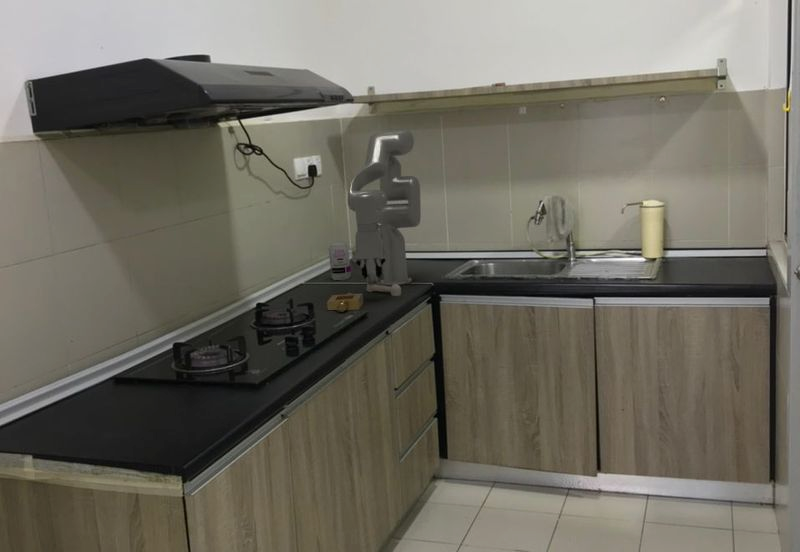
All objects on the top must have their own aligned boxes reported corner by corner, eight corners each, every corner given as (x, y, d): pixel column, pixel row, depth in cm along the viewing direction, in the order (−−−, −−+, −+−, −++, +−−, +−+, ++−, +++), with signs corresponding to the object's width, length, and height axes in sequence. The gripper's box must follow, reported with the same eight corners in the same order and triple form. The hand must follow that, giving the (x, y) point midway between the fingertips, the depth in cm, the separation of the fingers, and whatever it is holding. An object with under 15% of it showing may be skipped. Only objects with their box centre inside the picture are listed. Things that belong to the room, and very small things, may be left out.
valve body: (335, 302, 313) (334, 293, 312) (364, 300, 311) (363, 291, 311) (326, 314, 294) (325, 304, 293) (357, 312, 293) (356, 302, 292)
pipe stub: (367, 282, 312) (365, 255, 310) (379, 281, 311) (377, 254, 309) (366, 285, 308) (363, 258, 305) (378, 284, 307) (375, 257, 305)
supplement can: (344, 276, 366) (341, 242, 364) (354, 278, 360) (351, 243, 357) (328, 279, 362) (324, 244, 359) (338, 281, 355) (335, 246, 352)
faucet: (393, 308, 317) (397, 284, 313) (363, 289, 328) (367, 266, 324) (401, 306, 320) (405, 282, 316) (371, 287, 331) (375, 264, 327)
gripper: (391, 224, 308) (396, 273, 312) (346, 227, 310) (351, 276, 314) (389, 227, 301) (394, 278, 305) (342, 231, 302) (348, 281, 306)
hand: (372, 276), depth 309 cm, fingers closed on pipe stub, 4 cm apart
